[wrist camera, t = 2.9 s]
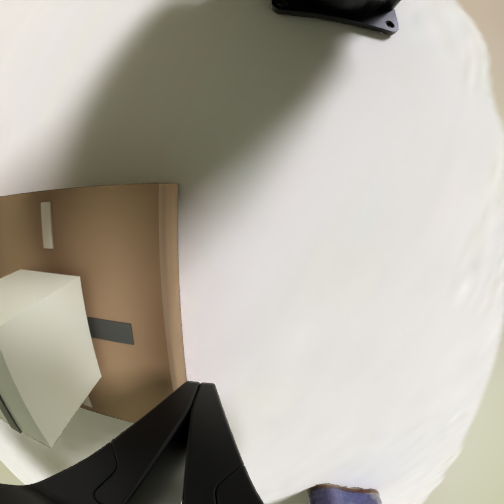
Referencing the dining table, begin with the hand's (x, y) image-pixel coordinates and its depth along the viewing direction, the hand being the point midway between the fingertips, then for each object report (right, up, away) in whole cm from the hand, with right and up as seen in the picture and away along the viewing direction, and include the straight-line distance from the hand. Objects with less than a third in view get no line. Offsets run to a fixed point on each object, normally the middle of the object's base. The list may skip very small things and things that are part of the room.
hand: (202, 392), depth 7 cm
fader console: (-13, +2, +6) cm, 15 cm away
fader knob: (-7, +1, +3) cm, 8 cm away
